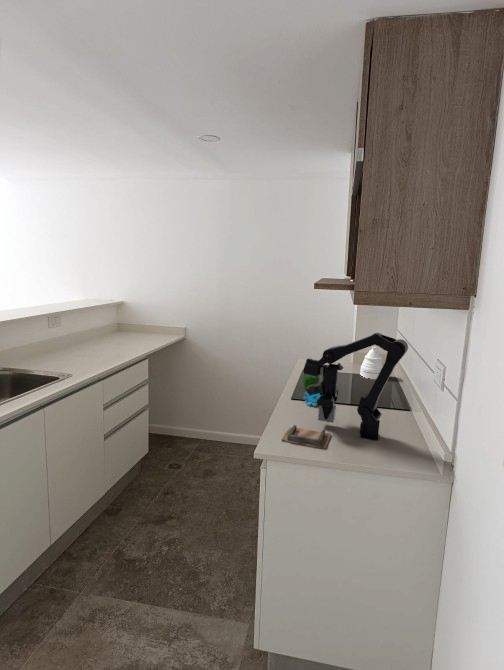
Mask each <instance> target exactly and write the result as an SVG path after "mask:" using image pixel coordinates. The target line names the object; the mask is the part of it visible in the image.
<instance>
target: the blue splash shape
mask: <svg viewBox="0 0 504 670" xmlns="http://www.w3.org/2000/svg"><path fill="white" fill-rule="evenodd" d="M320 396H323V395H320V393H318V394H314V395H311V396H309V394H308V393H307V391H305V392H304V396H303V400H304V403H305V404H308V405H307V406H308V407H311V406H312V407H314V408H316V406H317V399H318V398H319V397H320Z"/></svg>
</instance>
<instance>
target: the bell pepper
mask: <svg viewBox="0 0 504 670" xmlns="http://www.w3.org/2000/svg"><path fill="white" fill-rule="evenodd" d="M303 375H304V374H303ZM302 383H303V387H304V389H305V390H306V391H307V387H308V386H309V385H313V384H318V383H320V376H319V377H314V376H308V375H304V376H303V377H302Z"/></svg>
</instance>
